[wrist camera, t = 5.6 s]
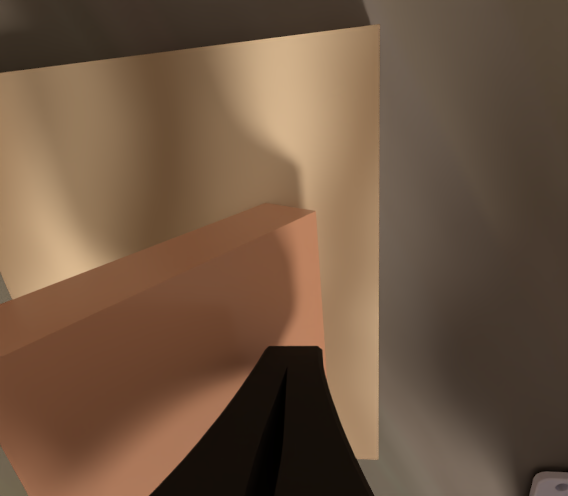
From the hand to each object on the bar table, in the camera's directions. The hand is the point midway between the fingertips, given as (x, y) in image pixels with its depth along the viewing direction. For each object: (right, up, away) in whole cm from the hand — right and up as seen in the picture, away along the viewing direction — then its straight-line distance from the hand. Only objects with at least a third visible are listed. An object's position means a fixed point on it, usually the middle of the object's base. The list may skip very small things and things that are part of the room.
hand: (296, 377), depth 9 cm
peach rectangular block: (0, +1, +3) cm, 3 cm away
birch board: (-4, +2, +6) cm, 7 cm away
